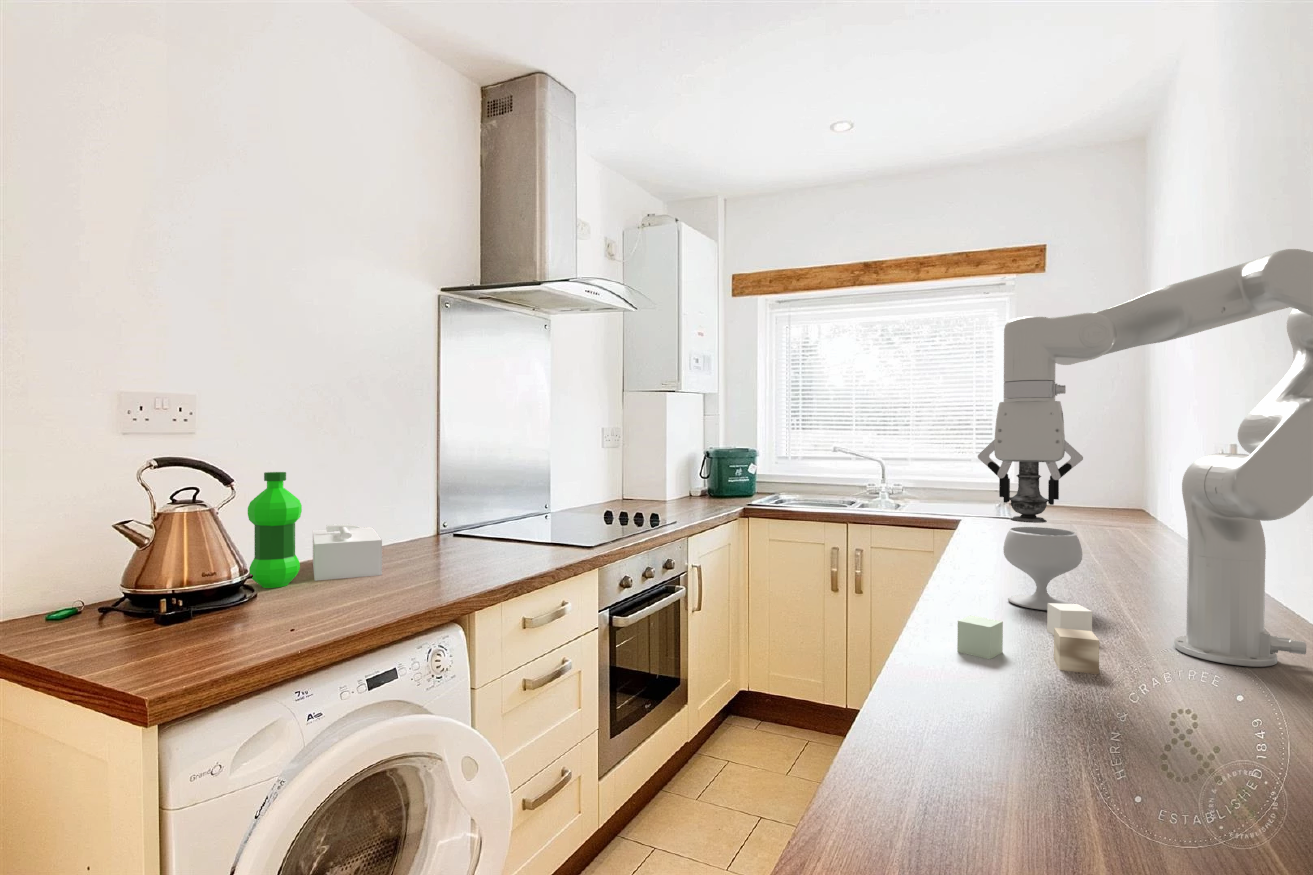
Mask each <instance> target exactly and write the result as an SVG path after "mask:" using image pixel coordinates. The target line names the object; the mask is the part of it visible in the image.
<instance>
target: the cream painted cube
mask: <svg viewBox="0 0 1313 875" xmlns="http://www.w3.org/2000/svg"><path fill="white" fill-rule="evenodd" d="M1046 612H1047V614H1046V616H1047V617H1046V619H1047V620H1046V623H1047V626H1046V627H1047V628H1046V631H1047V632H1048V633H1050V634H1051V635H1052V636H1054V628H1063V629H1074V630H1085V631H1092V632H1093V611H1092V610H1090V609H1088V608H1086V607H1085V606H1082V605H1080V604H1078V603H1073V604H1058V603H1048V604H1047V610H1046Z"/></svg>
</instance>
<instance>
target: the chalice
mask: <svg viewBox="0 0 1313 875" xmlns="http://www.w3.org/2000/svg"><path fill="white" fill-rule="evenodd" d="M1003 554H1004V558H1005V559H1006V560H1007V562H1009V564H1011V565H1012V566H1014V567H1015V568H1017V569H1019V570H1020V571H1022V572H1023V573H1025V574H1027V575H1028V576H1029V577H1030V578H1032V580H1033V581H1034V583H1035V586H1036V589H1035V592H1033V594H1019V595H1013V596H1012V595H1011V596H1009V598H1007V601H1008V602H1009V603H1011V604H1013V605H1016V606H1018V607H1023V608H1027V609H1032V610H1040V611H1047V604H1048V603H1058V604H1074V602H1071V601H1069V600H1065V599H1062V598H1058V597H1054V596H1050V594H1049V592H1048V591H1047V590H1048V589H1047V587H1048V585H1049V584H1050V582H1051V581H1052V580H1054V579H1055V578H1057V577H1059V576H1062V575H1064V574H1066V573H1068V572H1070V571H1072V570H1075V569H1076V568H1078V566H1080V564H1081V563H1082V560H1083V548H1082V546H1081V541H1080V539H1079V537H1078V535H1077V534H1076V533H1075V531H1071V530H1066V529H1060V528H1053V527H1052V528H1050V527H1038V526H1037V527H1036V526H1019V527H1018V526H1015V527H1011V528H1009V530H1008V532H1007V534H1006V536H1005V539H1004V543H1003Z"/></svg>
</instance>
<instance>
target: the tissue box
mask: <svg viewBox="0 0 1313 875" xmlns="http://www.w3.org/2000/svg"><path fill="white" fill-rule="evenodd" d="M312 567H313V568H312V569H313V578H314V581H315V582H317V581H326V580H339V579H340V580H341V579H351V578H363V577H375V576H383V539H382V538H381V537H380V535H379V533H377V531H376V530H375V529H374V527H373V526H368V527H367V526H366V527H362V526H359V525H355V524H350V523H344V524H343V523H342V524H326V528H325V529H313V530H312Z"/></svg>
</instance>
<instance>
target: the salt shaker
mask: <svg viewBox="0 0 1313 875" xmlns="http://www.w3.org/2000/svg"><path fill="white" fill-rule="evenodd" d="M1039 464H1040V462H1018V474H1017V475H1016V477H1017V478H1018V483H1017V484H1018V489H1017V492H1016V494H1015V495H1014V496H1010V498H1009V500H1010V506H1011V508H1012V510H1013V511H1015V513H1017V514H1020V515H1017V516H1016V515H1015V516H1013V517H1011V518H1010V521H1014V522H1017V523H1030V524H1032V523H1033V524H1036V523H1039V524H1041V523H1042V524H1043V523H1047V520H1046V519H1045V518H1043V517H1040V516H1037V515H1039V514H1040V515H1041V514H1042V513H1044V511H1046V509H1047V506H1048V505H1047V504H1048V498H1045V497H1044V496H1042V494H1041V492H1040V478H1041V477H1042V475H1041V474H1039V472H1040V469H1039V468H1040V467H1039Z"/></svg>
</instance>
